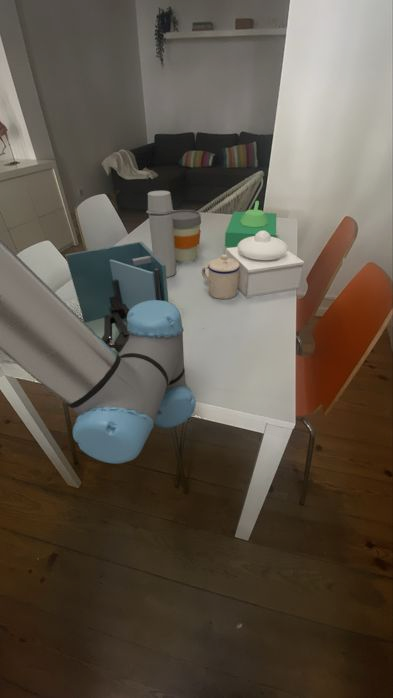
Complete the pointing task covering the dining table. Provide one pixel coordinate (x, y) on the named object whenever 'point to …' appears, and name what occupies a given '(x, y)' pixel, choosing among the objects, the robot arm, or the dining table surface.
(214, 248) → the dining table surface
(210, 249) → the dining table surface
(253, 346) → the dining table surface
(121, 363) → the robot arm
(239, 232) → the toy tank
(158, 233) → the water bottle
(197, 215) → the reusable coffee cup
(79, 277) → the shower
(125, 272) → the shower door
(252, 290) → the butter dish
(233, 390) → the dining table surface
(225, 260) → the teacup with lid
